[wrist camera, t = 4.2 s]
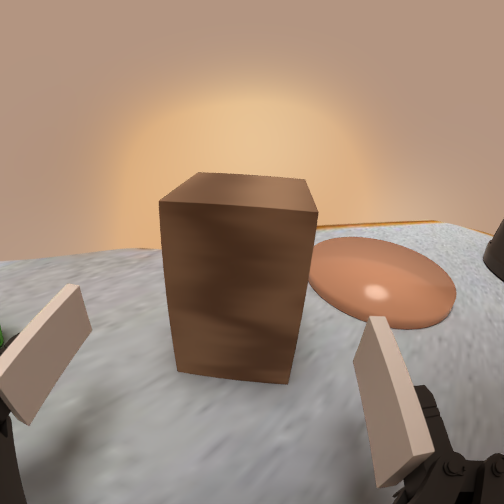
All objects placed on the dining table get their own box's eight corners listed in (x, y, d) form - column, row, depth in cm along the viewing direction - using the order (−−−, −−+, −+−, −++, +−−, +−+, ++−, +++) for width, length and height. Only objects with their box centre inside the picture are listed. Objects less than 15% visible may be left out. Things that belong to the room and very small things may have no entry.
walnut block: (287, 317, 23) (304, 179, 19) (287, 384, 17) (318, 212, 12) (201, 309, 24) (198, 172, 19) (177, 371, 17) (158, 201, 13)
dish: (418, 251, 37) (420, 243, 36) (477, 327, 21) (482, 317, 21) (300, 240, 38) (301, 231, 37) (313, 326, 22) (315, 314, 22)
